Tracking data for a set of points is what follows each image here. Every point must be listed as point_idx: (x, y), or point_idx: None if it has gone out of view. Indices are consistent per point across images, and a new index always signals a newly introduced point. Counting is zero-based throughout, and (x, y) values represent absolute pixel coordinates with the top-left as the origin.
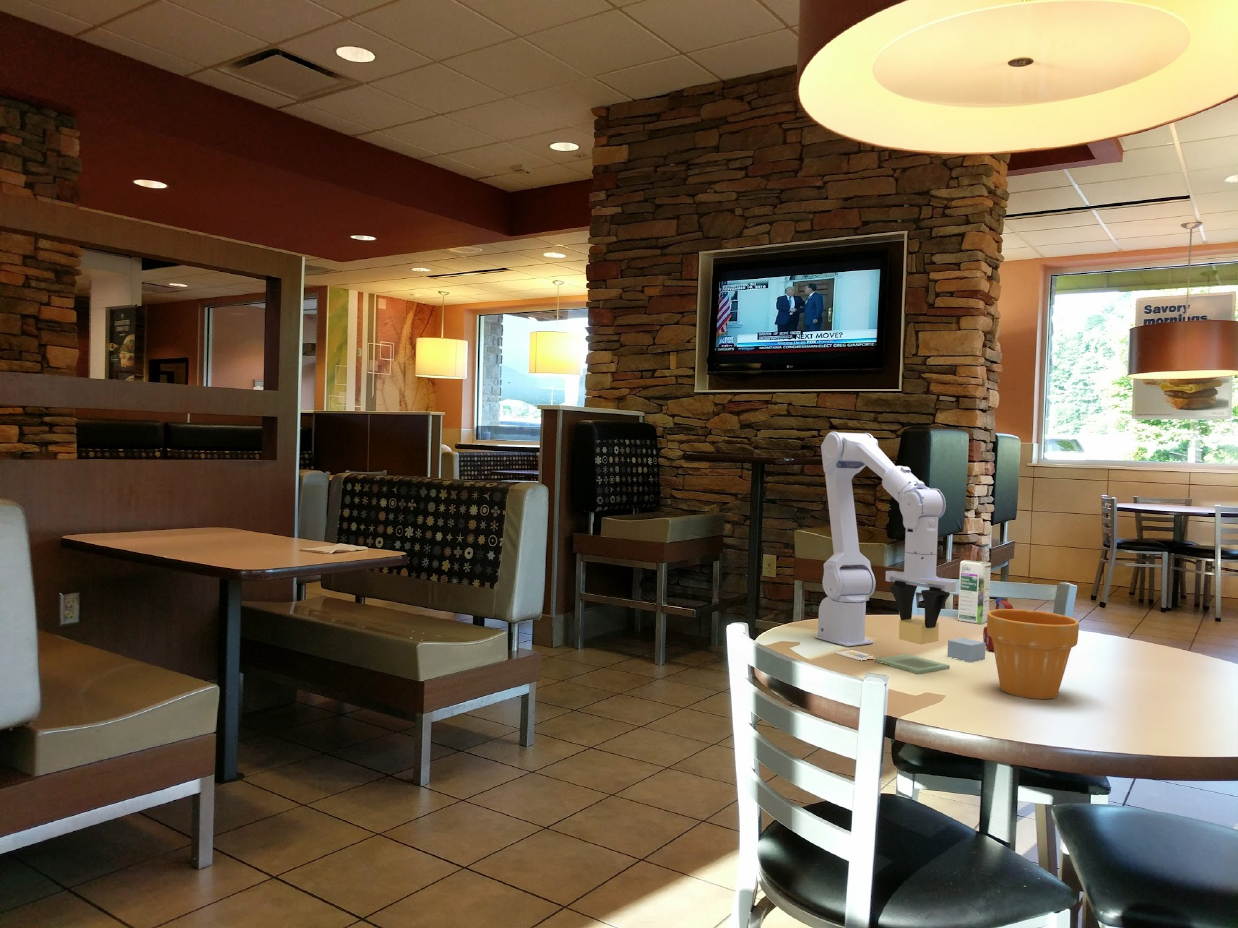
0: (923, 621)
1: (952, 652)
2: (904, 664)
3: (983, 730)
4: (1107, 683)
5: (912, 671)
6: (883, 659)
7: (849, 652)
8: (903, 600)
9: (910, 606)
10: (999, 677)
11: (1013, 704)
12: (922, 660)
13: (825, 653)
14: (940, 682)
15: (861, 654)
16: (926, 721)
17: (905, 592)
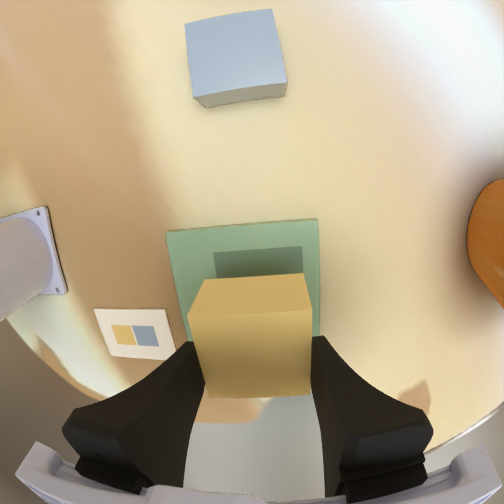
0: (259, 344)
1: (219, 100)
2: None
3: (486, 408)
4: (496, 32)
5: None
6: None
7: (115, 334)
8: (183, 440)
9: (178, 385)
10: (485, 284)
11: (500, 317)
12: (244, 251)
13: (111, 366)
14: (384, 338)
15: (134, 326)
16: (441, 440)
17: (171, 464)
